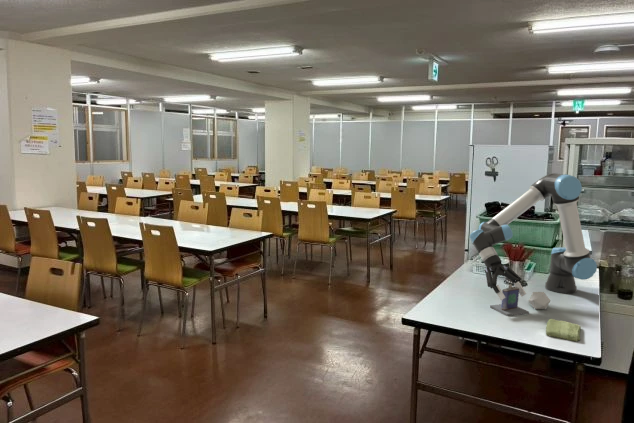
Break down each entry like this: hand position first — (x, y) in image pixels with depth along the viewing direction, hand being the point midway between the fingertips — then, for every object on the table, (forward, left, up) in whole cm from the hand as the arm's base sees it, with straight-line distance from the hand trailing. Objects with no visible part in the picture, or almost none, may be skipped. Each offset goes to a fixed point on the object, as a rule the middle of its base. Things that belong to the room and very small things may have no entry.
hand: (513, 297), depth 216 cm
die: (-16, -1, -7) cm, 17 cm away
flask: (0, -2, -6) cm, 7 cm away
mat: (0, -2, -7) cm, 7 cm away
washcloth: (-4, +25, -8) cm, 27 cm away
